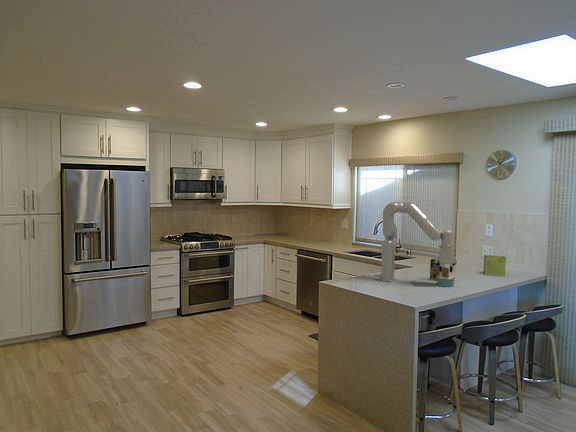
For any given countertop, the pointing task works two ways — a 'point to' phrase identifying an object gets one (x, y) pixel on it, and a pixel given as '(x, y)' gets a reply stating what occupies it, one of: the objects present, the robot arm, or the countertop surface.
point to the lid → (445, 274)
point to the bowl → (445, 282)
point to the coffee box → (435, 269)
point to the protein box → (494, 265)
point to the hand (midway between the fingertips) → (445, 271)
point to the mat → (422, 284)
